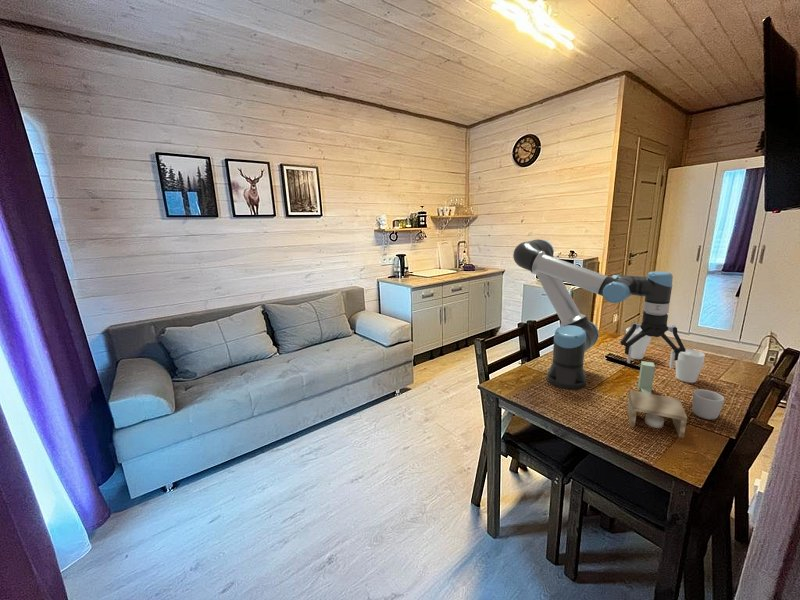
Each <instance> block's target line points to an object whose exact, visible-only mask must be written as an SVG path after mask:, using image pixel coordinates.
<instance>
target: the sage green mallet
mask: <svg viewBox="0 0 800 600" xmlns="http://www.w3.org/2000/svg"><path fill="white" fill-rule="evenodd" d="M640 362H641V363H640V367H639V368H640V369H639V373H638V374H639V375H638V381H637V382H638V384H637V389H638V391H639V392H642V393H648V394H653V393H652V390H653V383H654V376H655V372H656V371H655V370H656V366H655V363H654V362H651V361H650V362H649V361H643V360H641V361H640Z"/></svg>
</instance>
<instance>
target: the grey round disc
mask: <svg viewBox="0 0 800 600" xmlns="http://www.w3.org/2000/svg"><path fill="white" fill-rule="evenodd" d="M644 423H645V424H646V425H647V426H649V427H652V428H655V429H661V428H663V427H664V423H665V419H664V417H663V416H659V415H654V414H649V413H645V418H644Z"/></svg>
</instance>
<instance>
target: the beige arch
mask: <svg viewBox="0 0 800 600" xmlns="http://www.w3.org/2000/svg"><path fill="white" fill-rule="evenodd" d="M626 409H627V414H628V419H629V426H630V427H632V428H635V426H636V421H637V420H636V419H637V412H640V413H645V414H654V415H659V416H661V417H663V418H665V417H666V418H670V419H672V422H673V425H674V427H675V431H676V433H677V436H678V437H679V438H685V432H686V428H687V427H686V426H687V421H688V416H687V414H686V411H685V409H684V406H683V405H682V402H681V399H680V398H677V397H669V396H663V395H658V394H653V393H652V394H648V393H642V392H641V391H635V390H632V389H631V390H629V394H628V401H627V407H626Z"/></svg>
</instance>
